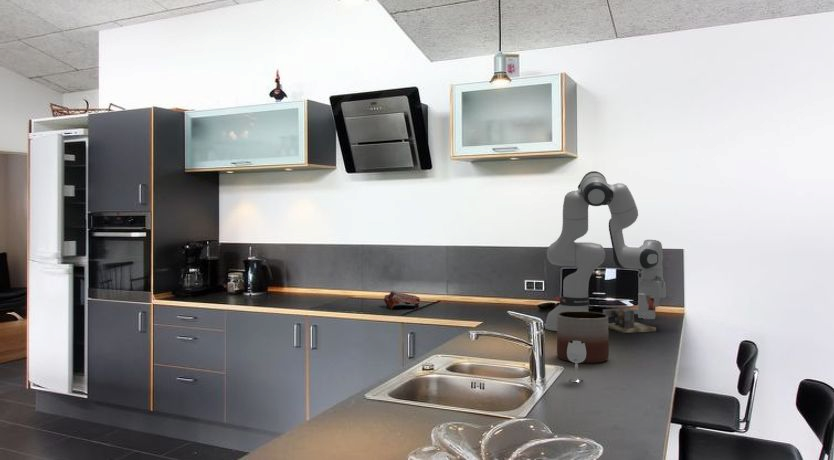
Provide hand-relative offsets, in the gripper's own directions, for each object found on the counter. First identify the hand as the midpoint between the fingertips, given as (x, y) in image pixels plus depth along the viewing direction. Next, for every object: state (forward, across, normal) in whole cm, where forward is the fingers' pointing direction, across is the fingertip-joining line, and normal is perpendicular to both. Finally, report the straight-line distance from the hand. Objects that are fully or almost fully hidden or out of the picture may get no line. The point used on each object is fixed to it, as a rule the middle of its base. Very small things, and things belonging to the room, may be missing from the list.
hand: (652, 305), depth 278 cm
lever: (+5, 0, +11) cm, 12 cm away
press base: (+10, -3, +12) cm, 16 cm away
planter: (+10, -58, +53) cm, 79 cm away
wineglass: (+10, -88, +65) cm, 109 cm away
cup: (+10, +27, -10) cm, 30 cm away
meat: (+10, +73, +111) cm, 133 cm away
